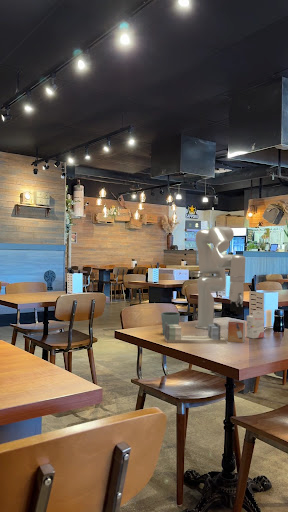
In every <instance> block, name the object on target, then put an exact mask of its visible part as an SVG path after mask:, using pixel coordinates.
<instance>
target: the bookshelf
mask: <svg viewBox="0 0 288 512" xmlns="http://www.w3.org/2000/svg"><path fill="white" fill-rule="evenodd" d="M221 327H222V326H221V325H220V324H218V323H217V322H213V325H208V329H207V335H182V326H180V324H179V325H168V323H165V335H163V339H164V340H165V342H166V343H167V344H205V345H206V344H209V345H210V344H211V345H212V344H214V345H216V344H217V345H219V344H220V345H222V344H225V345H227V343H228V339H226V338H225V337H223V336H222V335H221V330H222V329H221Z"/></svg>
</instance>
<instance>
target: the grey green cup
mask: <svg viewBox="0 0 288 512" xmlns="http://www.w3.org/2000/svg"><path fill="white" fill-rule="evenodd" d="M180 314H181V313H180V312H176V311H175V312H174V311H165V312H161V314H160V316H161V317H160V318H161V322H162V323H161V328H162V329H161V330H162V336H165V323H168V325H179V326H180V317H181V315H180Z"/></svg>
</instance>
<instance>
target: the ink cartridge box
mask: <svg viewBox="0 0 288 512" xmlns="http://www.w3.org/2000/svg"><path fill="white" fill-rule="evenodd" d="M264 337H265V311H264V310H254V311H252V315H246V338H249V339H259V338H260V339H261V338H264Z"/></svg>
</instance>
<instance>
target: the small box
mask: <svg viewBox="0 0 288 512" xmlns="http://www.w3.org/2000/svg"><path fill="white" fill-rule="evenodd" d="M227 323H228V324H227V342H232V343H240V344H243V343H244V342H245V338H246V335H245V334H246V321H245V320H235V319H234V320H233V319H230V320H229V321H227Z"/></svg>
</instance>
